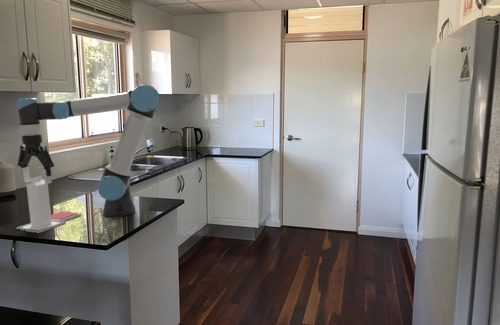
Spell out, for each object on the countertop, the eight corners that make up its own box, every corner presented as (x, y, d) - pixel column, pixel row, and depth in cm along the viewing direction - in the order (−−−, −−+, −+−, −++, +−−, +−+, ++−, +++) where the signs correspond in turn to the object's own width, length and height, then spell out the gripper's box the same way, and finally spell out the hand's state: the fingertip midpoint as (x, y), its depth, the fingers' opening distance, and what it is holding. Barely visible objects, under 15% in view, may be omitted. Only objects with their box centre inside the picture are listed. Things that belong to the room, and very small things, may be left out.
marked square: (65, 223, 186) (65, 221, 186) (38, 233, 173) (38, 231, 173) (44, 220, 192) (44, 218, 192) (16, 229, 179) (16, 227, 179)
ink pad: (81, 215, 197) (80, 212, 197) (60, 223, 187) (59, 219, 186) (63, 213, 202) (63, 210, 202) (42, 220, 192) (41, 217, 191)
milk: (31, 226, 181) (24, 178, 177) (42, 222, 186) (36, 175, 183) (41, 227, 179) (35, 178, 175) (52, 223, 184) (46, 175, 181)
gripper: (59, 133, 174) (65, 182, 177) (20, 133, 185) (26, 179, 188) (43, 135, 167) (50, 186, 171) (4, 135, 178) (11, 182, 181)
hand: (37, 182), depth 179 cm, fingers open, 13 cm apart
